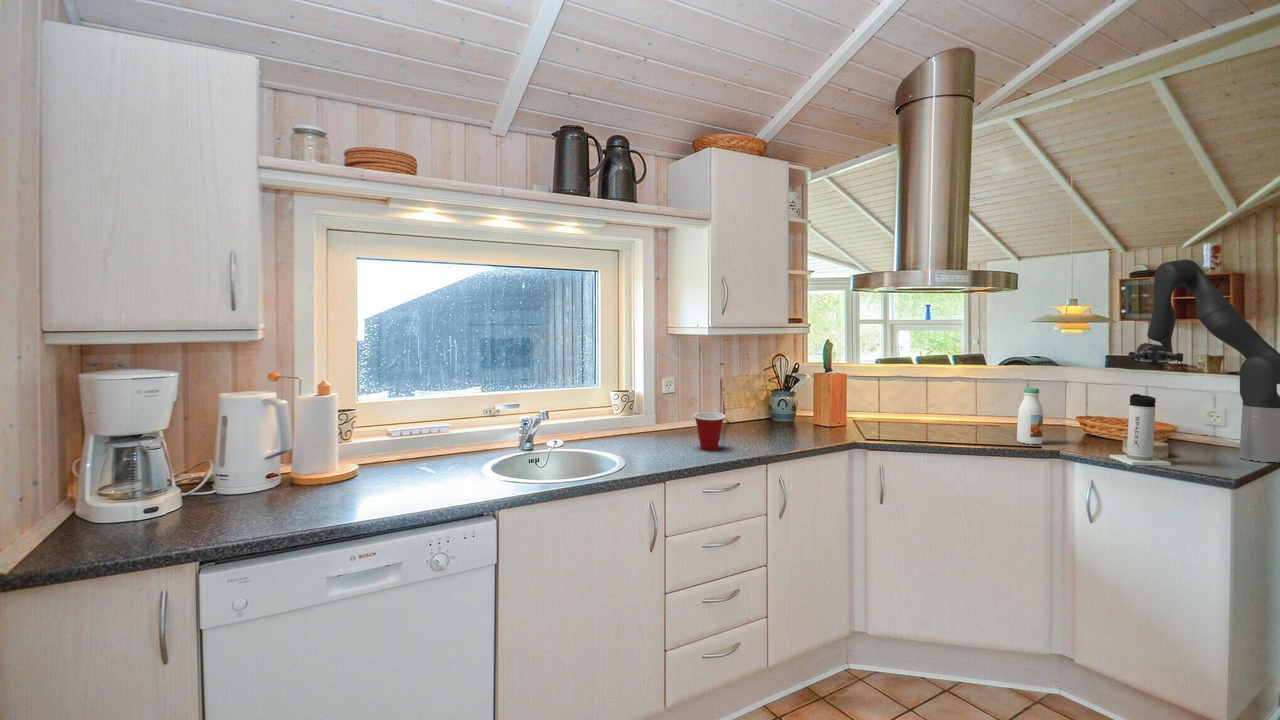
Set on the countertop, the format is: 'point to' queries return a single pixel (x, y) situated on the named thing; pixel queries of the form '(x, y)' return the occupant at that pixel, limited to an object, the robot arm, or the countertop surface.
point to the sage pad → (1140, 461)
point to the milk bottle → (1030, 418)
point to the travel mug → (1141, 427)
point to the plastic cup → (709, 429)
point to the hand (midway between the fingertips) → (1155, 357)
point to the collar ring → (1158, 449)
